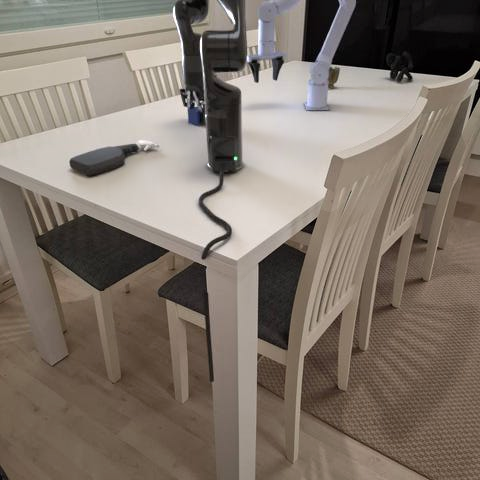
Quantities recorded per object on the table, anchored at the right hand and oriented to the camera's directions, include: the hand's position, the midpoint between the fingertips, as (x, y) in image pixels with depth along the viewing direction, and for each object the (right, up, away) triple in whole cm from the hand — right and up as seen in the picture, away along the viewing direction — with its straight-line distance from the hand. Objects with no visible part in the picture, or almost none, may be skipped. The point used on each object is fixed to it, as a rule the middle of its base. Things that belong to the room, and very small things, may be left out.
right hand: (265, 81), depth 162 cm
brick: (-24, -18, -10) cm, 31 cm away
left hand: (-24, -17, -10) cm, 31 cm away
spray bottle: (-44, -35, -38) cm, 68 cm away
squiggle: (+63, +14, +38) cm, 74 cm away
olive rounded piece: (+29, +7, +28) cm, 41 cm away
